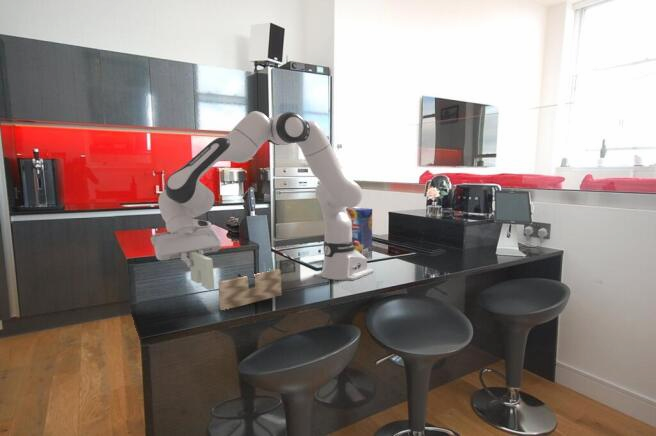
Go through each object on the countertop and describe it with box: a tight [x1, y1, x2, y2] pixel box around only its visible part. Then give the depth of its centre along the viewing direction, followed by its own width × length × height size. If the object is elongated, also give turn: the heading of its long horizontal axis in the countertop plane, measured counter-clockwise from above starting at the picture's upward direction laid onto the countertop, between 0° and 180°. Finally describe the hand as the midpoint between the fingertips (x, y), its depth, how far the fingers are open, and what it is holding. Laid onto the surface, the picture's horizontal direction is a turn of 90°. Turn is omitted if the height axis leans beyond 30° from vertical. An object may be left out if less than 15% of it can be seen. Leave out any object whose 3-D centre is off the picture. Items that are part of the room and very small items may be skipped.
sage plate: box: [188, 251, 215, 291], centre depth 117 cm, size 2×14×9 cm, turn 40°
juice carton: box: [346, 206, 373, 261], centre depth 185 cm, size 12×8×24 cm, turn 42°
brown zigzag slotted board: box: [218, 268, 282, 311], centre depth 127 cm, size 22×2×9 cm, turn 130°
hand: (196, 265), depth 120 cm, fingers closed on sage plate, 2 cm apart
